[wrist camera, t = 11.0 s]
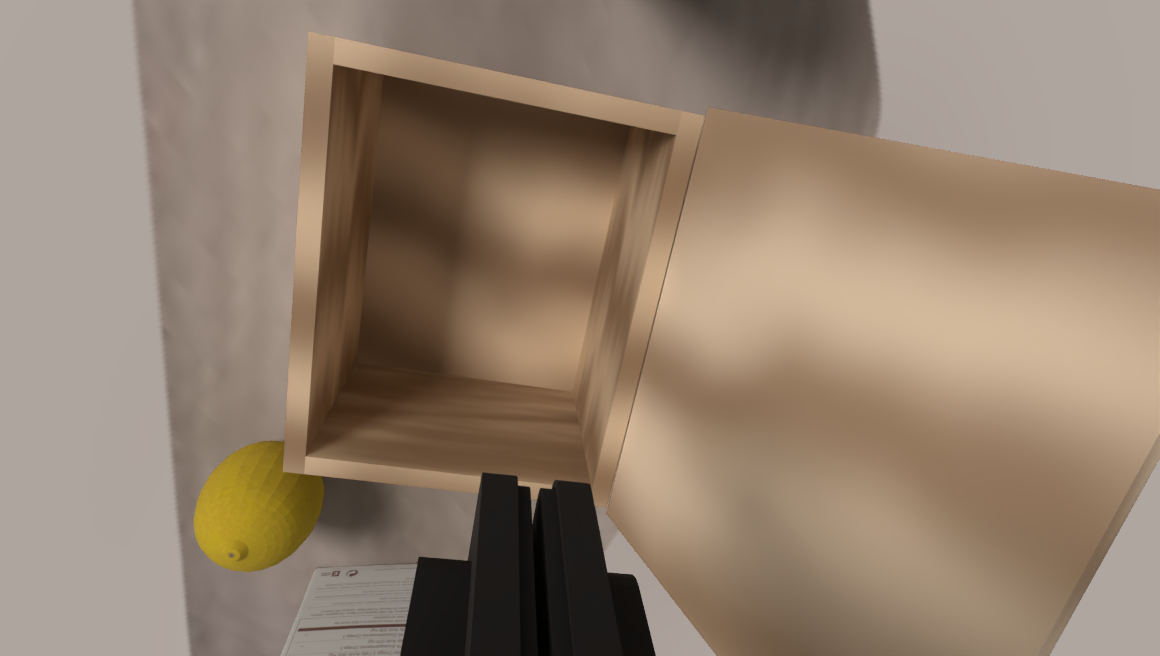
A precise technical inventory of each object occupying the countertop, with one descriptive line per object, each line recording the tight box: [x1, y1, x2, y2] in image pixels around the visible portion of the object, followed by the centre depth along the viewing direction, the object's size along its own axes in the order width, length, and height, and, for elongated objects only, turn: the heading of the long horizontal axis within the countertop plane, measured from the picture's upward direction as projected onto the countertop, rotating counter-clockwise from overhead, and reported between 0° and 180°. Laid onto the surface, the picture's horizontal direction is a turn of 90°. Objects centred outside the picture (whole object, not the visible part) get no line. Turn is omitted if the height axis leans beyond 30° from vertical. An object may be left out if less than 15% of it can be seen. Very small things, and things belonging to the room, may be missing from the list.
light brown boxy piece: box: [283, 31, 704, 508], centre depth 29 cm, size 16×13×10 cm
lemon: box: [194, 441, 324, 572], centre depth 33 cm, size 6×6×8 cm
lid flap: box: [606, 107, 1160, 656], centre depth 19 cm, size 17×15×1 cm
